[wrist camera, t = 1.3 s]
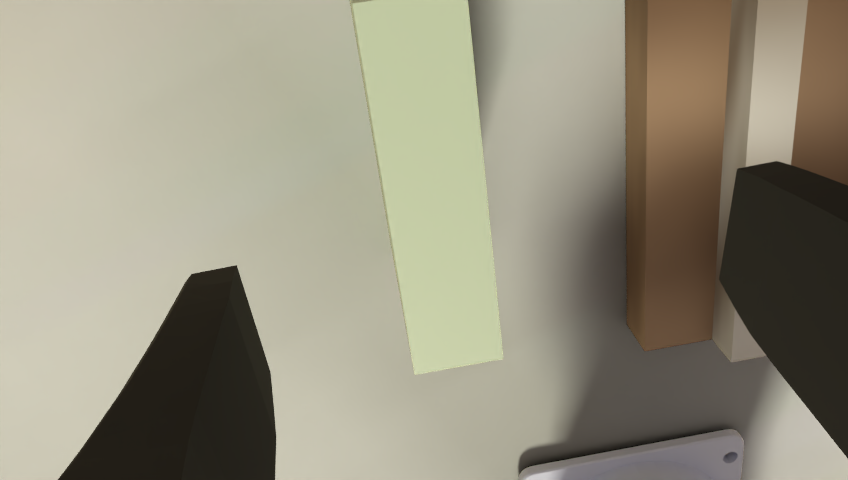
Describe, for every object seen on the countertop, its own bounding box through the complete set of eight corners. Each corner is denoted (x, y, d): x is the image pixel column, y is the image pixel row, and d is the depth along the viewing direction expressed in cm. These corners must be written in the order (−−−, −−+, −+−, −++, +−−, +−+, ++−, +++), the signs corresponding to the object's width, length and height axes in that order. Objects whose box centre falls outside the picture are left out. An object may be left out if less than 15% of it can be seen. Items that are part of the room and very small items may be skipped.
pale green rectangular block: (459, 239, 22) (503, 358, 17) (392, 250, 22) (414, 375, 17) (424, -50, 18) (466, -15, 13) (343, -37, 18) (351, 3, 13)
